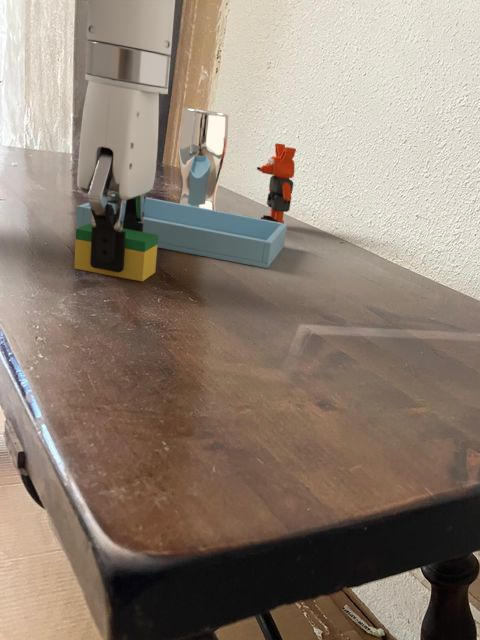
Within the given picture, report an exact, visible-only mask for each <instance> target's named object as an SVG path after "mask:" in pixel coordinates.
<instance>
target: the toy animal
mask: <svg viewBox="0 0 480 640" xmlns="http://www.w3.org/2000/svg"><path fill="white" fill-rule="evenodd" d="M274 149H275V151H274V154H275V156H273V155H272V156H271V157H268V159H267V162H266V163H265V165H264V164H263V165H261V167H260V166H257V167H256V170H257V171H259V172H261V173H262V174H265V175H270V177H269V178H270V179H269V185H268V191H269V192H268V194H267V199H266V205H267V207H268V208H269V209H270V215H265V214H263V216H260V219H263V220H268V221H274V222H279V223H284V224H285V221H284V214H285V213H288V212H289V211H290V208H291V203H292V201H291V200H292V194H293V188H294V181H293V180H292V179H293V178H294V177H295V172H296V171H295V160H294V157H295V154H296V152H297V148H295V147H288V146H286V144H284V143H278V142H275V144H274Z"/></svg>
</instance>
